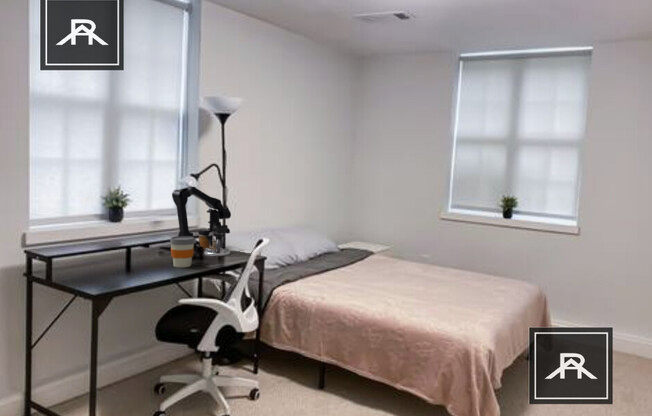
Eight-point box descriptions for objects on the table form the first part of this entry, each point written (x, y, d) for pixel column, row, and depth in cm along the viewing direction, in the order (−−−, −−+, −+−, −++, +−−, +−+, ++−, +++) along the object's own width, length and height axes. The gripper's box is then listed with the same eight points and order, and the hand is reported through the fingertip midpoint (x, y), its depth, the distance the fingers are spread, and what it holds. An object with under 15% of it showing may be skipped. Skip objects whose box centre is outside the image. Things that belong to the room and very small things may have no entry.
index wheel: (214, 257, 301) (214, 240, 300) (199, 253, 311) (199, 237, 310) (234, 254, 312) (235, 238, 311) (220, 250, 322) (220, 235, 321)
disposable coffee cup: (194, 251, 324) (194, 231, 323) (204, 248, 333) (204, 229, 332) (207, 252, 320) (207, 233, 319) (216, 250, 329) (216, 231, 328)
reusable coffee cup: (164, 266, 280) (164, 238, 278) (181, 262, 291) (181, 235, 289) (182, 269, 274) (183, 240, 272) (199, 265, 285) (199, 237, 283)
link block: (213, 248, 311) (213, 241, 311) (209, 247, 314) (209, 240, 313) (219, 247, 314) (219, 241, 314) (215, 246, 317) (215, 240, 316)
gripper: (208, 222, 300) (208, 249, 302) (235, 220, 314) (235, 246, 315) (198, 220, 308) (197, 246, 309) (224, 218, 321) (224, 243, 323)
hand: (214, 246), depth 314 cm, fingers closed on link block, 4 cm apart
